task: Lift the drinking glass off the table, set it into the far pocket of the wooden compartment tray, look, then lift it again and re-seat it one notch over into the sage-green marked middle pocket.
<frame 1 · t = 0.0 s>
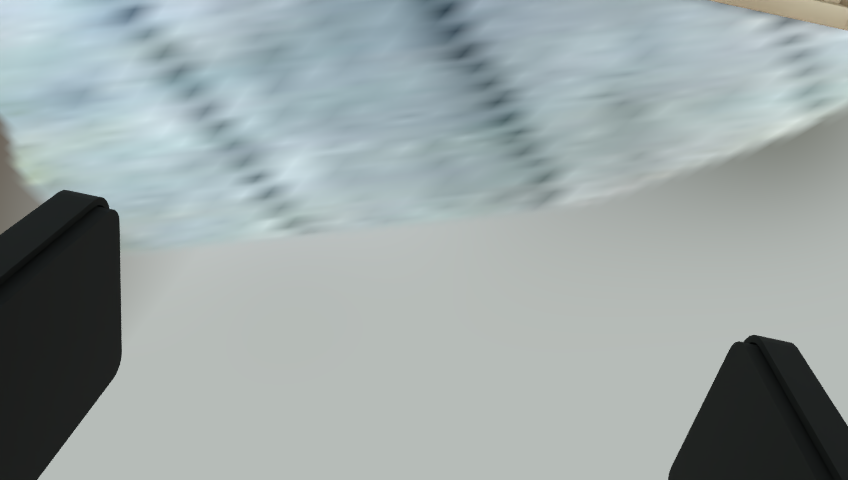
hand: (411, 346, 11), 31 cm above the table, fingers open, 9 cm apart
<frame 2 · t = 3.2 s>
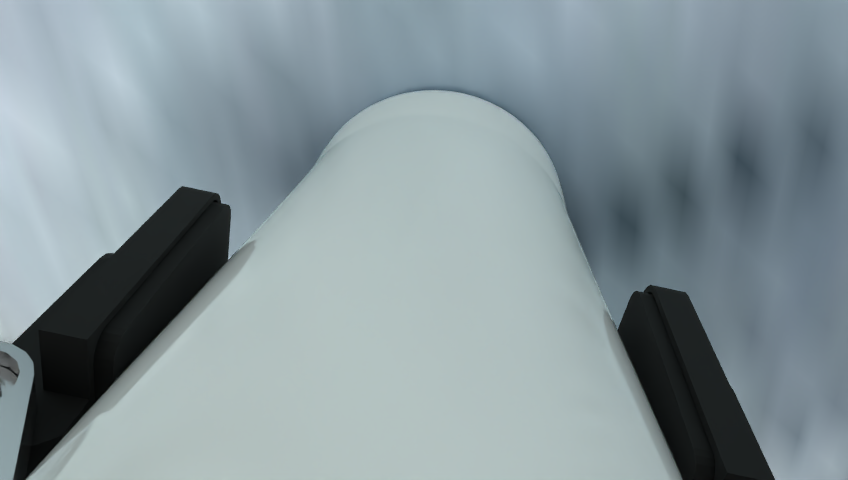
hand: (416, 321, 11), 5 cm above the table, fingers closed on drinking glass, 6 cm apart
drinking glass: (438, 198, 16), on the table, touching gripper
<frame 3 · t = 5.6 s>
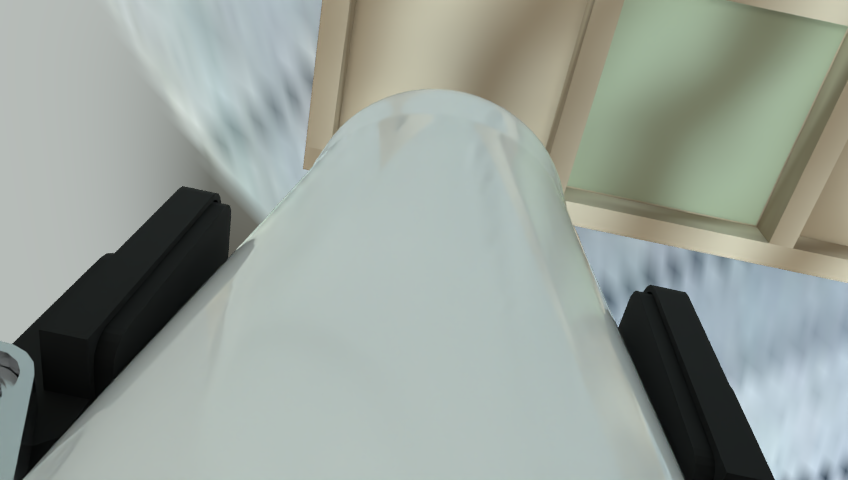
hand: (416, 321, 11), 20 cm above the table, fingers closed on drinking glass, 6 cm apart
wooden compartment tray: (688, 102, 29), on the table
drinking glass: (438, 197, 16), point 15 cm above the table, touching gripper
when the fingers open (7 cm above the table, at t = 8.4 s): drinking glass drops 1 cm, resting on wooden compartment tray.
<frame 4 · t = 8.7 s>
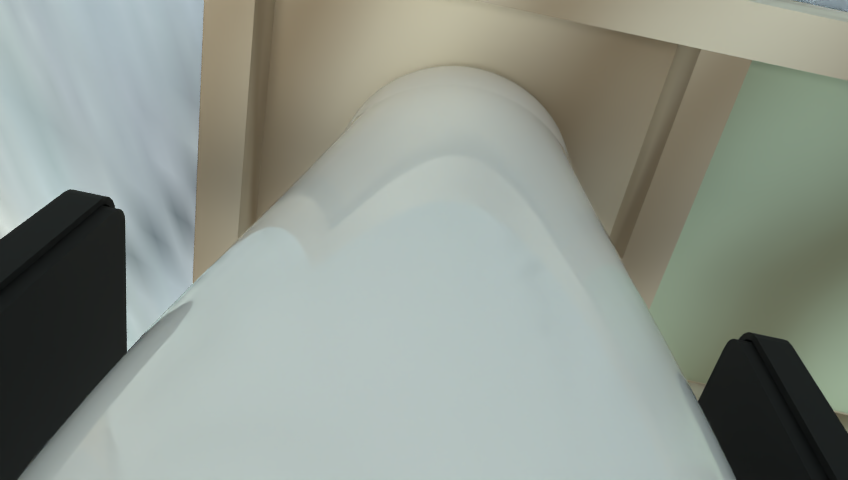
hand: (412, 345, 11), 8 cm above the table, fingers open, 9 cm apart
wooden compartment tray: (816, 240, 18), on the table
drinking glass: (454, 169, 17), point 1 cm above the table, touching wooden compartment tray
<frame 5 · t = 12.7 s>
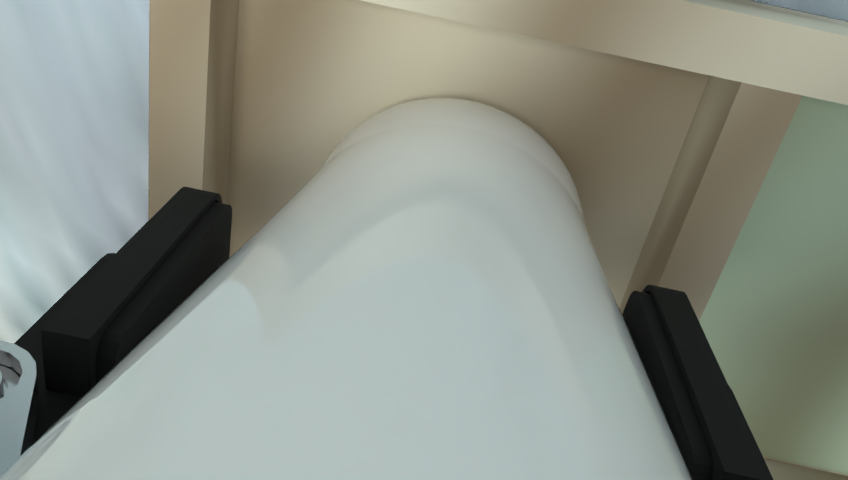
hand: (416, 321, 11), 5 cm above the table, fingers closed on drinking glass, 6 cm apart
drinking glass: (448, 214, 14), point 1 cm above the table, touching gripper, wooden compartment tray
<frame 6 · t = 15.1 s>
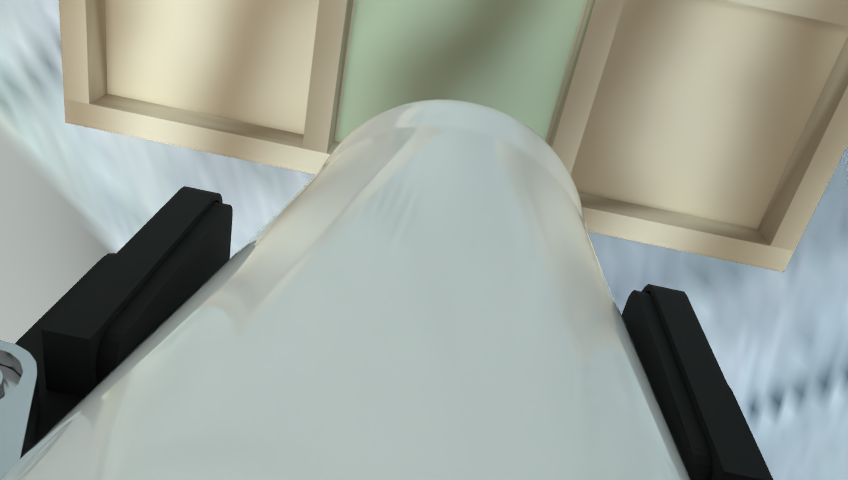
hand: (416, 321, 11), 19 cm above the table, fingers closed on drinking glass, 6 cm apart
wooden compartment tray: (457, 55, 28), on the table
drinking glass: (448, 215, 14), point 15 cm above the table, touching gripper
when the fingers open (7 cm above the table, at t = 17.8 s): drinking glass drops 2 cm, resting on wooden compartment tray.
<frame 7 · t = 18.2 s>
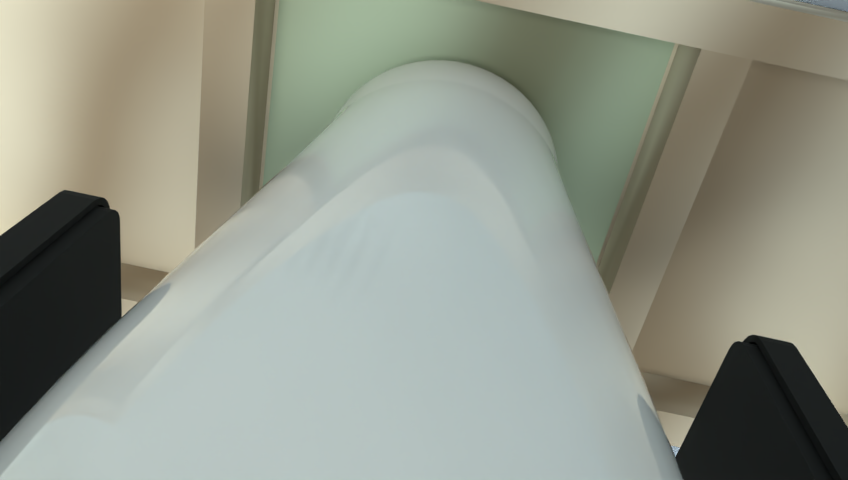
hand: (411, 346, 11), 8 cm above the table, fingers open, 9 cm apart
wooden compartment tray: (443, 161, 18), on the table
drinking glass: (441, 163, 17), point 1 cm above the table, touching wooden compartment tray
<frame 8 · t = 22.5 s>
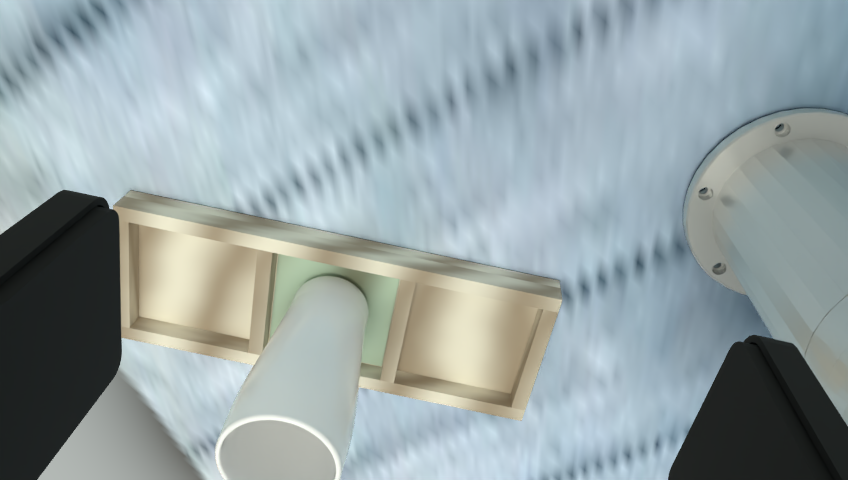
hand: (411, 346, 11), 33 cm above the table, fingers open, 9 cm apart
wooden compartment tray: (335, 299, 50), on the table
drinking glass: (332, 303, 49), point 1 cm above the table, touching wooden compartment tray
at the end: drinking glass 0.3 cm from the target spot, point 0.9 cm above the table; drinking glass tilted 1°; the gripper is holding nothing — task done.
